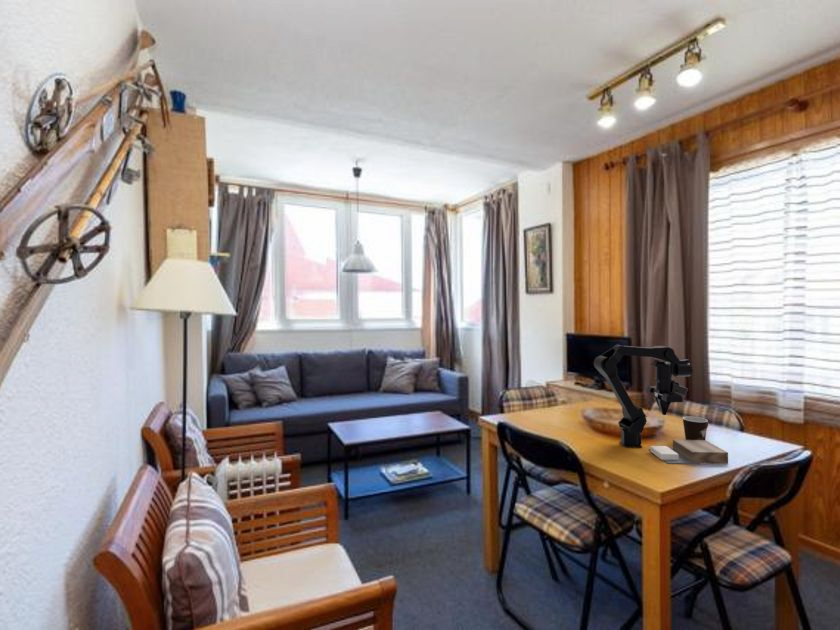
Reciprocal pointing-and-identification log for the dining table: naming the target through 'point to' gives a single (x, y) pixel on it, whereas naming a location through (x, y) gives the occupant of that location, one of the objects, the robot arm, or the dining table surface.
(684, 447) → the block
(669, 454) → the ceramic tile
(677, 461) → the charcoal mat
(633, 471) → the dining table surface
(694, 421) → the coffee mug
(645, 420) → the robot arm
